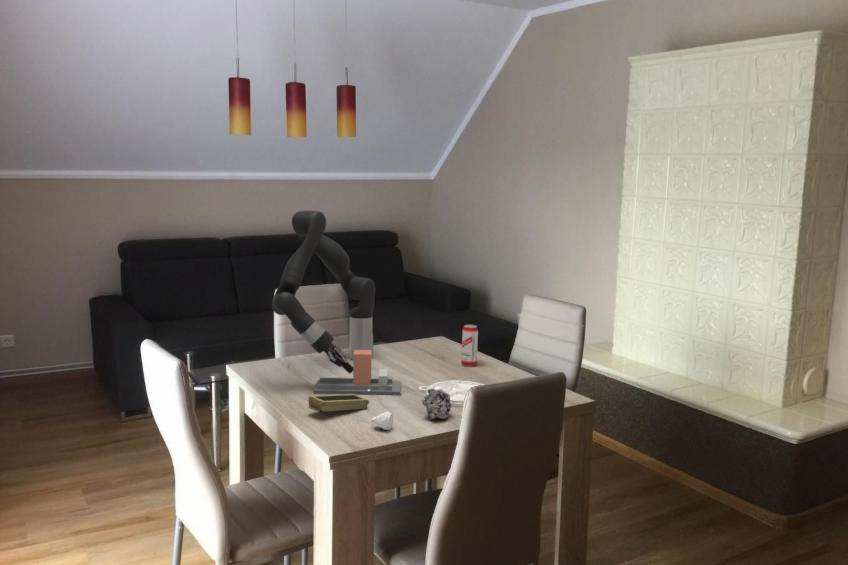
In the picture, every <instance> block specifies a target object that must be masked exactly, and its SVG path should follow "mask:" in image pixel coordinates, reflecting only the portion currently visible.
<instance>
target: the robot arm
mask: <svg viewBox="0 0 848 565" xmlns="http://www.w3.org/2000/svg"><path fill="white" fill-rule="evenodd" d="M291 226H292V228H293V231H294V233H295V234H296V235H297V236H298V237H299V238H300V239H301V240H302V241H303V242H302V243H301V245H300V246H299V247H298V249H297V250H295V252H294V253H293V254H292V255H291V257H289V259H288V261H287V262H286V264H285V267H284V270H283V272H282V274H281V279H280V282H279V285H278V287H277V289H276V291H275V294H274V296H273V298H272V301H271V308H272V311H273V312H274V313H275V314H276V315H278V316H284V315H285V316H286V318H288V319H289V321H290V324H291V326H292V327H293V329H294V330H295V331H297V333H298V334H299V335H300V336H301V337H302V338H303V340H304V341H305V342H306V343H308V345H310V346H311V348H312V349H314V351H316V353H317V354H321V353H322V352H324V353H325V354H326V357H327V358H329V361H330V362H331V363H333V364H334V365H336V366H337V367H338V368H343V369H344V370H345V371H346V372H347V373H348V374H352V372H353V366H352V365H351V364H350V362H348V360H347V357H346V355H345V354H344V352H343V351H342V350H341V348H340V347H339V346H337V345H334V344H333V341H335V337H333V336H332V334H331V333H329V331H328V330H326V328H324V327H323V325H321V324H320V323H319V322H318V321H316V319H314V318H313V317H312V316H311V314H309V313H308V312H307V311H306V309H305V307H304V306H303V305H302V303H301V302H300V301H299V299H298V298H297V297H296V294H297V291H298V290H299V289H300V287H301V284H302V283H303V279H304V275H305V272H306V269H307V267H308V264H309V263H310V260H311V258H312V257H313V255H314V254H315V255H316V256H317V257H318V258H319V259H320V260H321V261H322V263H323V265H325V267H326V268H327V269H328V270H329V271H330V273H331V274H332V276H334V278H335V279H336V280H337V282H338V283H339V284H340V286H341V288H342V289H343V291H344V293H345V294H346V295H347V296H348V298H350V299H351V300H358V301H359V305H358V306H356V307H353V308H351V309H350V310H349V348H348V350H349V354H348V355H349V357H348V358H349V359H351V360H353V358H354V351H355V350H372V357H373V356H374V347H373V346H374V333H373V314H374V310H375V299H376V298H375V297H376V286H375V285H376V284H375V282H374V280H373V278H368V277H361V276H357V275H355V274H354V273H353V272H352V271H351V269H350V263H351V262H350V261H351V260H350V257H349V255H348V253H347V252H346V251H345V249H344V248H343V247H342V246H341V245H340V244H339V243H338V242H336V241H335V240H333V239H331V237H328V236H327V235H324V233H325V231H326V228H327V218H326V216H325V214H324V212H321V211H319V210H299V211H296V212H295V213H294V214H293V216H292V218H291Z"/></svg>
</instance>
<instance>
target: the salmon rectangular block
mask: <svg viewBox="0 0 848 565" xmlns="http://www.w3.org/2000/svg"><path fill="white" fill-rule="evenodd" d="M372 358H373V356H372V350H355V351H354V358H353V359H352V361H353V366H352V367H353V374H352V375H353V377H352V378H353V385H371V378H372Z"/></svg>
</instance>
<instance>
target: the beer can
mask: <svg viewBox="0 0 848 565" xmlns="http://www.w3.org/2000/svg"><path fill="white" fill-rule="evenodd" d="M461 335H462V337H461V338H462V339H461V359H460V360H461V361H460V363H461V365H462V366H463V367H468V368H469V367H476V365H477V364H478V343H479V341H478V340H479V330H478V326H477V325H475V324H465V325H463V328H462V334H461Z"/></svg>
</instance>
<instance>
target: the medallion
mask: <svg viewBox="0 0 848 565" xmlns="http://www.w3.org/2000/svg"><path fill="white" fill-rule="evenodd" d="M478 385H484V384H483V383H482V382H475V381H468V380H460V379H459V380H458V379H457V380H452V379H451V380H445V381H444V380H441V381H439V382H434V383H431V384H430V385H428V386H427V385H422V386H418V392H419V393H421V394H423V393H424V394H425V396H426V395H428V394H429V393H428V390H429V389H436V391H437V390H439V389H442V390H443V392H445V393H447V394H449V395H450V403H451V404H452V407H455V408H457V407H458V408H464V407H463V402H464V398H465V395H466V393H467V391H468V390H469V389H470V388H471V387H474V386H478Z"/></svg>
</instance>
